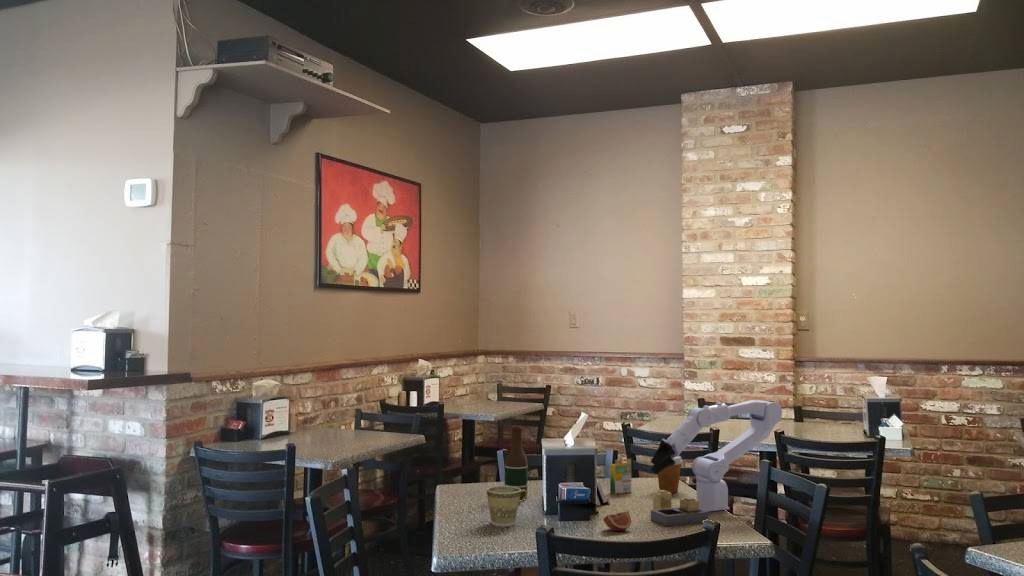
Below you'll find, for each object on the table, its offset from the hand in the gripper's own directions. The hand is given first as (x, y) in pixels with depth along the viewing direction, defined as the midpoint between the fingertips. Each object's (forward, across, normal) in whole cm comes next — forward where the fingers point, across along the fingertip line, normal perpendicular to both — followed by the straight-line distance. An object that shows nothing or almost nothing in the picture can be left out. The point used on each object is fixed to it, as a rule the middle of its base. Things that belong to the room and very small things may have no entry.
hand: (653, 468), depth 247 cm
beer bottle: (+35, -15, -30) cm, 48 cm away
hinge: (+18, -18, -13) cm, 29 cm away
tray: (+7, 0, +16) cm, 18 cm away
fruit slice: (+24, +13, +7) cm, 29 cm away
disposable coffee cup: (-6, -36, +1) cm, 37 cm away
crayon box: (+6, -30, -9) cm, 33 cm away
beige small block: (+6, -9, +9) cm, 14 cm away
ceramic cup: (+45, +13, -17) cm, 49 cm away
